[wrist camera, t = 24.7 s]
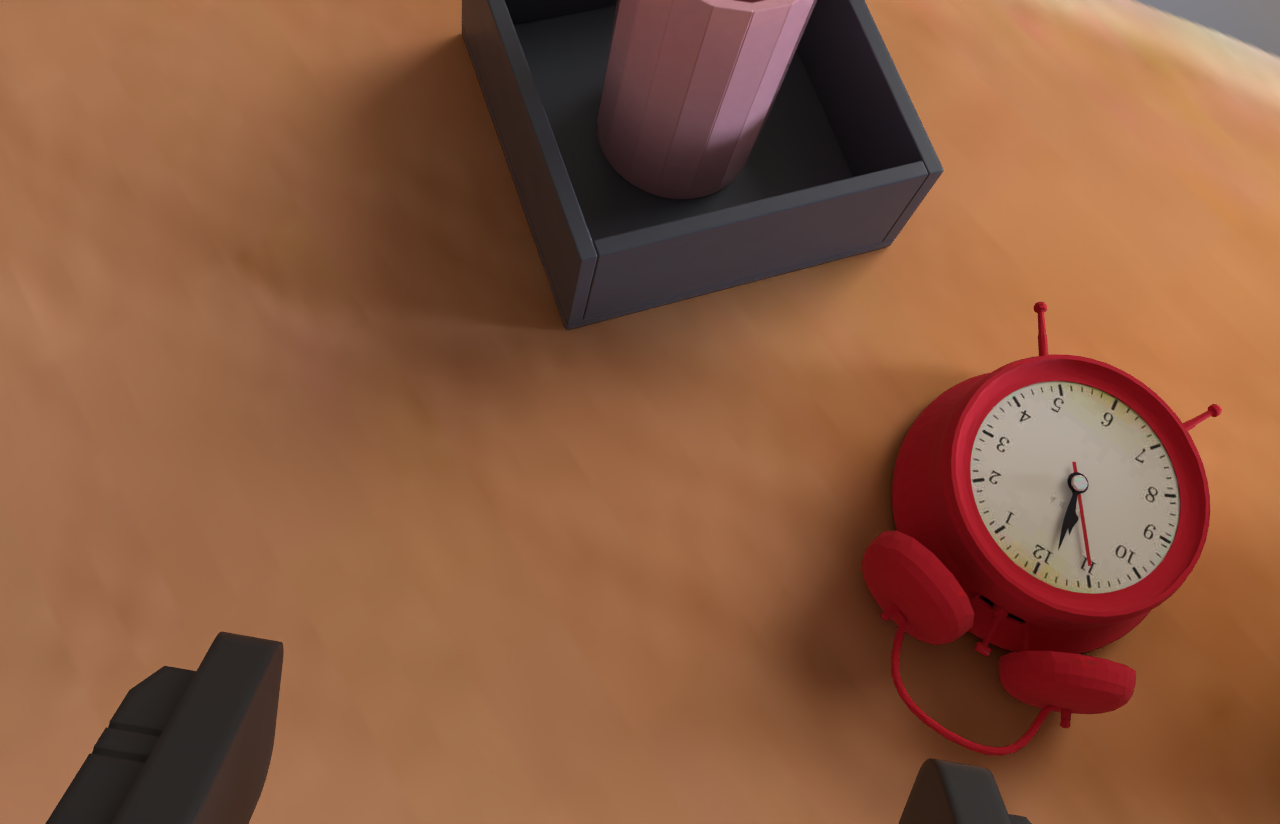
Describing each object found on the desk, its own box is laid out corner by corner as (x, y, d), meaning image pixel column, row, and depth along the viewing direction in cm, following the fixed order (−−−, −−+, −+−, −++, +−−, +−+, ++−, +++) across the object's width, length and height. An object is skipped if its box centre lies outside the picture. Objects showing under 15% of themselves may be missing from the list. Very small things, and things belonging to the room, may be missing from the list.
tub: (768, -28, 51) (804, -130, 45) (890, 246, 47) (944, 170, 42) (461, 32, 47) (462, -70, 42) (565, 331, 44) (580, 260, 39)
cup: (720, 49, 48) (792, -168, 38) (775, 180, 46) (865, -11, 36) (574, 79, 47) (608, -138, 37) (625, 216, 45) (675, 28, 35)
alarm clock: (1273, 413, 43) (1188, 784, 34) (1164, 494, 48) (1068, 833, 39) (1012, 262, 43) (866, 590, 35) (933, 358, 48) (789, 664, 40)
